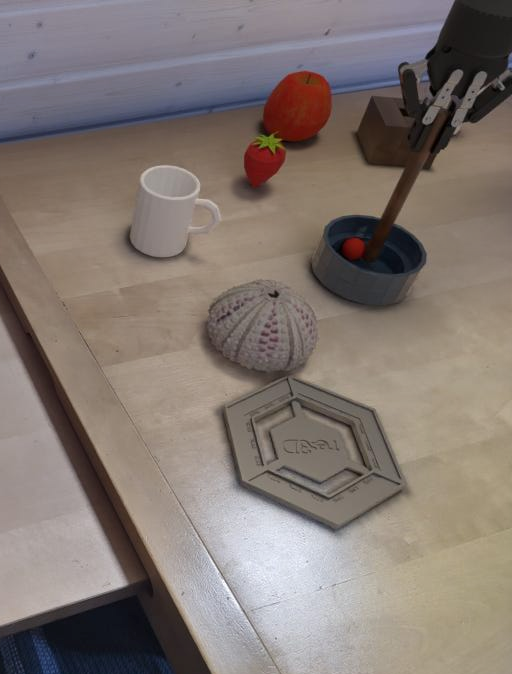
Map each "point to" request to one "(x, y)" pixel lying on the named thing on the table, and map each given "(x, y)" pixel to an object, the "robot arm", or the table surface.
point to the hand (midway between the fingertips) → (422, 149)
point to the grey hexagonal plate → (312, 451)
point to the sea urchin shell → (263, 326)
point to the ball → (353, 248)
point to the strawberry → (263, 159)
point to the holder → (387, 133)
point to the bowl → (368, 278)
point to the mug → (168, 211)
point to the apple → (298, 106)
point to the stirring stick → (403, 189)
